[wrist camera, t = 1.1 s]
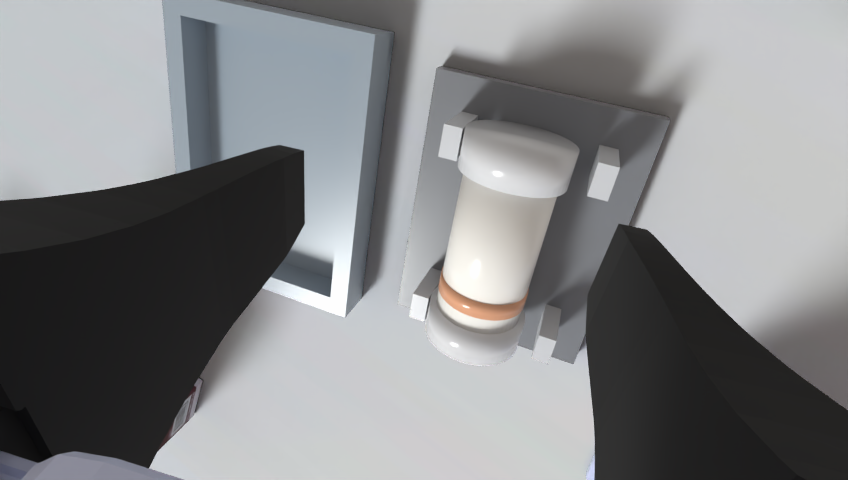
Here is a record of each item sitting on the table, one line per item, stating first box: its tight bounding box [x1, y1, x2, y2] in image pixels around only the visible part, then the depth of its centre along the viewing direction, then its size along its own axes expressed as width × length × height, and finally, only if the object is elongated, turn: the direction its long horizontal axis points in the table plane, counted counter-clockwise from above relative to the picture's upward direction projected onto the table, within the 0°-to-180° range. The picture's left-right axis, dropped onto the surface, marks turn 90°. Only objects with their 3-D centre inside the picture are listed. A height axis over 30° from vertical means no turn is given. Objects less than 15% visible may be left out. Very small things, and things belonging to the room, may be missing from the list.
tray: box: [162, 0, 394, 317], centre depth 27 cm, size 15×11×2 cm
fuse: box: [425, 120, 580, 366], centre depth 22 cm, size 10×5×5 cm, turn 170°
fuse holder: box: [398, 66, 670, 364], centre depth 23 cm, size 13×10×4 cm
